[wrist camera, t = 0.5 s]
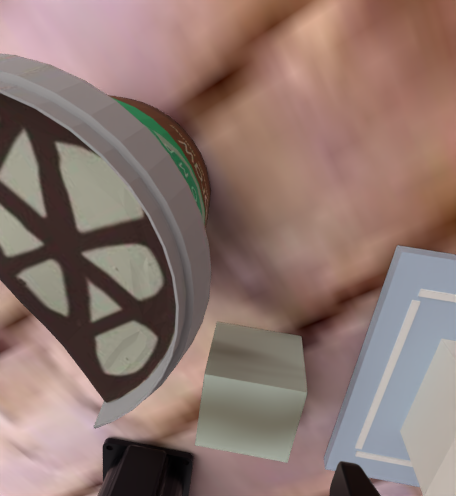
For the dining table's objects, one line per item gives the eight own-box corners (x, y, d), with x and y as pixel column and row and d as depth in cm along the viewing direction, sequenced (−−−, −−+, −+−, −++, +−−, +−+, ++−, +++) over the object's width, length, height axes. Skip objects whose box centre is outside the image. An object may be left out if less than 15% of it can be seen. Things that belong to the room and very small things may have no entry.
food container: (273, 251, 20) (273, 391, 11) (174, 289, 22) (103, 439, 13) (158, 8, 16) (10, -84, 7) (47, 78, 18) (-187, 76, 9)
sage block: (285, 398, 24) (287, 462, 20) (208, 384, 24) (194, 445, 20) (301, 335, 22) (307, 392, 18) (217, 320, 22) (204, 373, 18)
